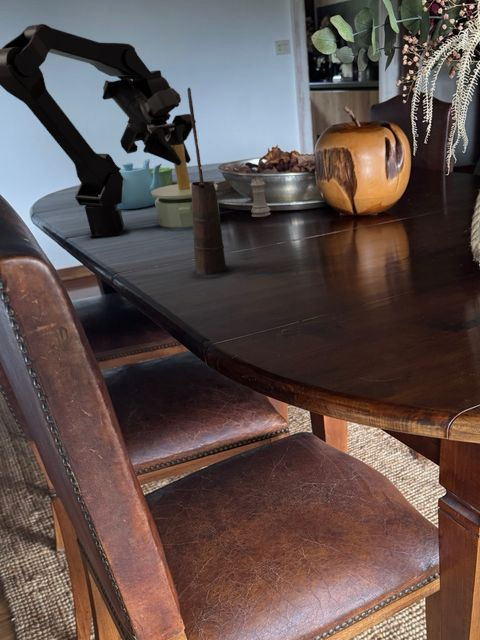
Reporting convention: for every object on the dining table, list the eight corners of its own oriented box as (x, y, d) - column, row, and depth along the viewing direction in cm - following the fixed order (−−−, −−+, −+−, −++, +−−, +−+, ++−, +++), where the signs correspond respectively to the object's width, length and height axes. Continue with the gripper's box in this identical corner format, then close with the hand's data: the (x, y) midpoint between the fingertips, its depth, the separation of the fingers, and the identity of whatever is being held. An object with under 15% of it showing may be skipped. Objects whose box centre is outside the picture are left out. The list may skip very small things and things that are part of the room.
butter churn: (232, 283, 104) (204, 88, 90) (176, 284, 106) (140, 93, 92) (246, 266, 112) (223, 84, 98) (194, 267, 114) (163, 89, 99)
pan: (155, 235, 137) (150, 208, 134) (163, 216, 153) (159, 192, 150) (219, 228, 138) (216, 202, 135) (220, 210, 154) (217, 186, 151)
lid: (148, 204, 136) (138, 151, 130) (155, 191, 148) (146, 143, 143) (217, 197, 137) (210, 145, 132) (218, 185, 149) (212, 137, 144)
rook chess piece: (268, 219, 143) (264, 181, 138) (248, 219, 143) (244, 181, 139) (273, 214, 146) (269, 177, 142) (254, 214, 147) (250, 177, 143)
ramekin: (143, 185, 195) (140, 169, 193) (173, 181, 197) (170, 165, 195) (145, 189, 187) (142, 173, 185) (176, 185, 189) (173, 169, 187)
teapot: (112, 214, 160) (102, 170, 154) (102, 204, 171) (92, 163, 166) (170, 205, 165) (162, 162, 159) (156, 196, 176) (148, 156, 171)
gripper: (117, 78, 126) (169, 140, 126) (181, 72, 139) (228, 127, 140) (99, 123, 134) (148, 181, 134) (161, 113, 147) (206, 165, 147)
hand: (184, 162), depth 138 cm, fingers closed on lid, 2 cm apart
